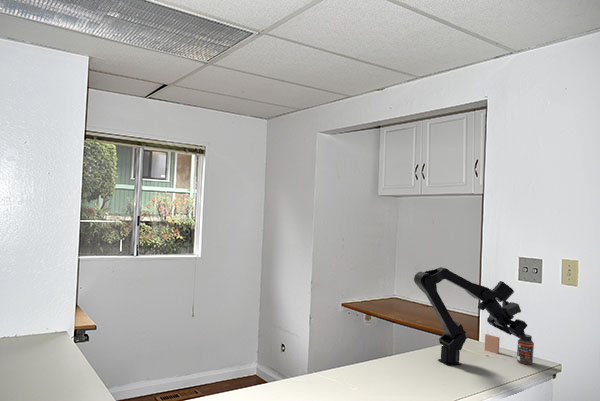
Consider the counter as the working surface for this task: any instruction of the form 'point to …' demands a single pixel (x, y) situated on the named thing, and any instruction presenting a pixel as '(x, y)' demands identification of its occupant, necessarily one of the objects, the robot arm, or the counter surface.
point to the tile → (492, 343)
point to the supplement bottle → (525, 351)
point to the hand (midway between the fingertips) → (518, 337)
